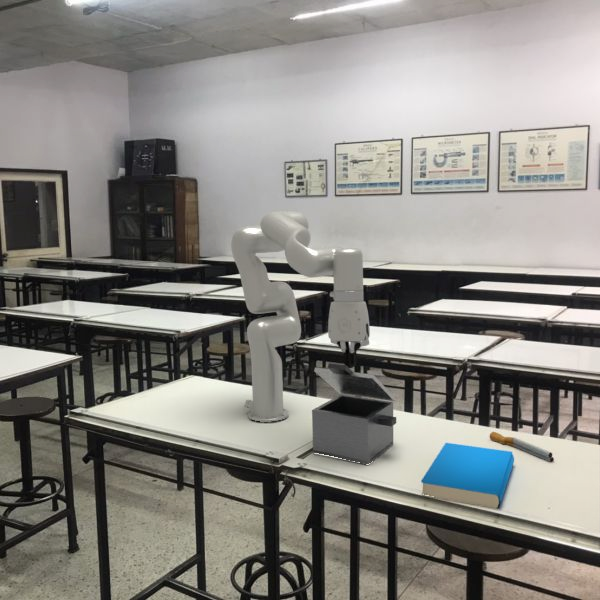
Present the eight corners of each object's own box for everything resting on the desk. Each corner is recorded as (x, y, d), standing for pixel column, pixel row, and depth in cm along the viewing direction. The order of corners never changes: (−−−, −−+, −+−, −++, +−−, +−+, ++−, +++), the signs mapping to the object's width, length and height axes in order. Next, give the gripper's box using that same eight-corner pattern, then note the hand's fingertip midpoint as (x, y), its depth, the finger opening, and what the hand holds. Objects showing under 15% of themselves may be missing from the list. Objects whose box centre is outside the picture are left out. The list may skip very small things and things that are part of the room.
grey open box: (313, 454, 161) (312, 410, 160) (341, 435, 175) (340, 394, 173) (381, 468, 151) (381, 421, 149) (405, 447, 164) (405, 403, 163)
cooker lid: (307, 365, 157) (310, 354, 158) (339, 393, 173) (341, 383, 174) (366, 372, 148) (369, 361, 150) (394, 401, 164) (396, 390, 165)
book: (421, 480, 135) (444, 441, 158) (421, 499, 136) (444, 457, 158) (501, 493, 128) (514, 450, 150) (501, 512, 129) (514, 466, 151)
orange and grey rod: (488, 434, 168) (495, 428, 169) (491, 442, 169) (498, 436, 170) (543, 457, 151) (551, 451, 152) (546, 467, 152) (554, 460, 153)
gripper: (316, 297, 157) (318, 367, 159) (368, 299, 149) (370, 372, 152) (330, 294, 163) (331, 361, 166) (381, 296, 156) (382, 366, 158)
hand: (350, 366), depth 159 cm, fingers closed
